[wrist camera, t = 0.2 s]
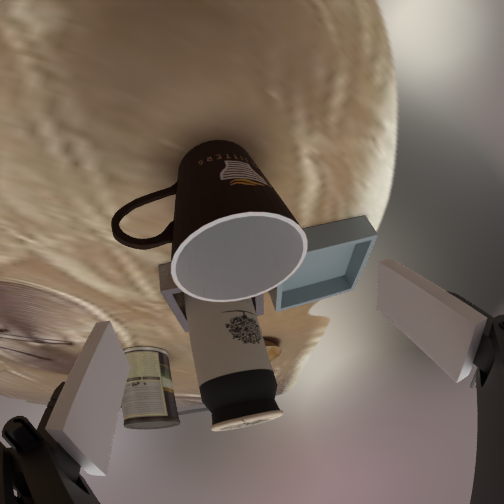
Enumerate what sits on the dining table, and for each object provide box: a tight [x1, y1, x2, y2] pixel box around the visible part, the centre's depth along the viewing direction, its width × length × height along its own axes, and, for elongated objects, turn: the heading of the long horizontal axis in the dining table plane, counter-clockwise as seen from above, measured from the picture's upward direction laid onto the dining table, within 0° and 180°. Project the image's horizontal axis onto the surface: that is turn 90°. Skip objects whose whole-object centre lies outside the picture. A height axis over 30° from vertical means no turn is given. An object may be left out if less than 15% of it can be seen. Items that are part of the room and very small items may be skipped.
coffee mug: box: [111, 140, 308, 302], centre depth 20 cm, size 12×9×10 cm
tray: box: [269, 216, 378, 312], centre depth 36 cm, size 12×12×3 cm
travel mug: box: [183, 292, 283, 431], centre depth 30 cm, size 8×8×18 cm
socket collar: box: [159, 262, 264, 332], centre depth 35 cm, size 11×11×4 cm
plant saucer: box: [264, 340, 283, 362], centre depth 58 cm, size 15×15×3 cm
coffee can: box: [122, 346, 180, 429], centre depth 45 cm, size 10×10×14 cm
